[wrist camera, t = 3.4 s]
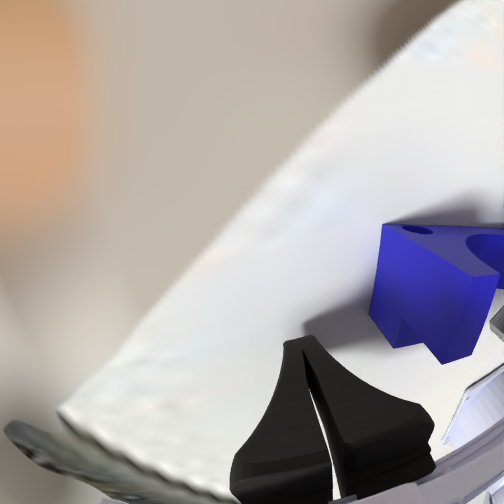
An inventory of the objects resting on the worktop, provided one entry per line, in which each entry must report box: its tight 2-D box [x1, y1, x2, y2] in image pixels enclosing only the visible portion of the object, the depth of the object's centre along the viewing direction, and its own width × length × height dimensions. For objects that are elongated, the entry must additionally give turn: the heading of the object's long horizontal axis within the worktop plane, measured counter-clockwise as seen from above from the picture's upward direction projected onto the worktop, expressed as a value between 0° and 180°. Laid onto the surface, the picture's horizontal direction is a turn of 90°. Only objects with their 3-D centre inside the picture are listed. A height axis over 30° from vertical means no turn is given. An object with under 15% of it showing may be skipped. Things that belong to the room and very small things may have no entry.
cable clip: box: [369, 224, 504, 365], centre depth 10 cm, size 12×4×6 cm, turn 91°
